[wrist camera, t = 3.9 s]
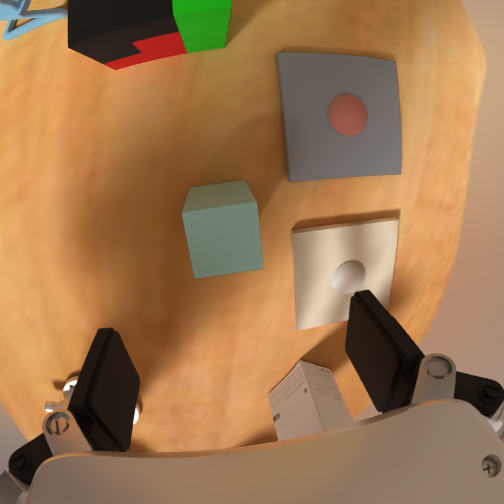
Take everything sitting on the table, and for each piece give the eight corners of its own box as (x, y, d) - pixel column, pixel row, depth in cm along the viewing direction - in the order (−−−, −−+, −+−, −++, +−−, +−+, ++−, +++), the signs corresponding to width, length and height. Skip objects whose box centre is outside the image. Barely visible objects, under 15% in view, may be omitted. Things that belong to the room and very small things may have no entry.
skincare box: (299, 358, 37) (333, 454, 23) (332, 368, 39) (370, 453, 25) (265, 395, 39) (284, 485, 26) (298, 402, 41) (322, 484, 28)
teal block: (198, 238, 28) (194, 278, 21) (190, 187, 26) (181, 212, 19) (250, 230, 29) (263, 268, 22) (244, 179, 27) (256, 201, 19)
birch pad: (294, 325, 34) (297, 331, 33) (291, 230, 29) (294, 234, 28) (383, 306, 35) (387, 311, 34) (394, 216, 30) (399, 220, 29)
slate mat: (287, 180, 27) (290, 182, 26) (275, 55, 22) (278, 52, 21) (395, 172, 28) (401, 174, 27) (390, 62, 23) (396, 60, 22)
